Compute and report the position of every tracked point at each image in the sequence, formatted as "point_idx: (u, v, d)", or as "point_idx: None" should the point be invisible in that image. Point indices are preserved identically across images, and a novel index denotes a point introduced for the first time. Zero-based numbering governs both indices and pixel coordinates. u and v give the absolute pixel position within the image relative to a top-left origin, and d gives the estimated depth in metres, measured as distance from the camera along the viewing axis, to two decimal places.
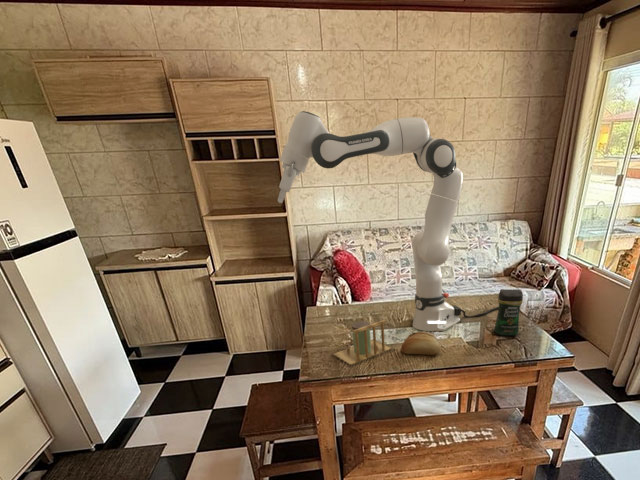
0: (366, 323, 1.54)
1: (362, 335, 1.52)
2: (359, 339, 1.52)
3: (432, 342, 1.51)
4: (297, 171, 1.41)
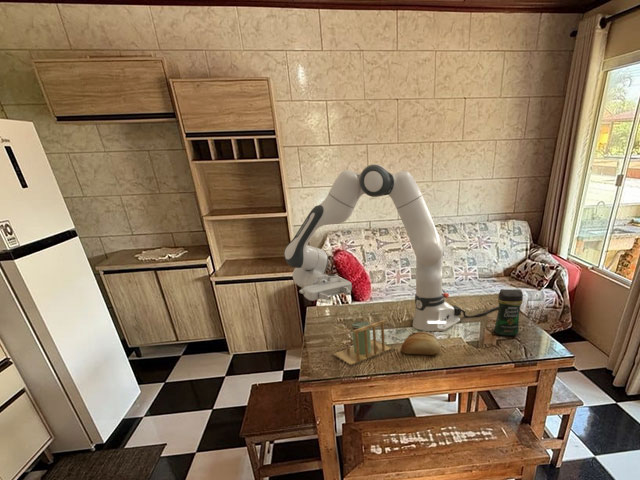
0: (366, 323, 1.54)
1: (362, 335, 1.52)
2: (359, 339, 1.52)
3: (432, 342, 1.51)
4: (317, 282, 1.62)
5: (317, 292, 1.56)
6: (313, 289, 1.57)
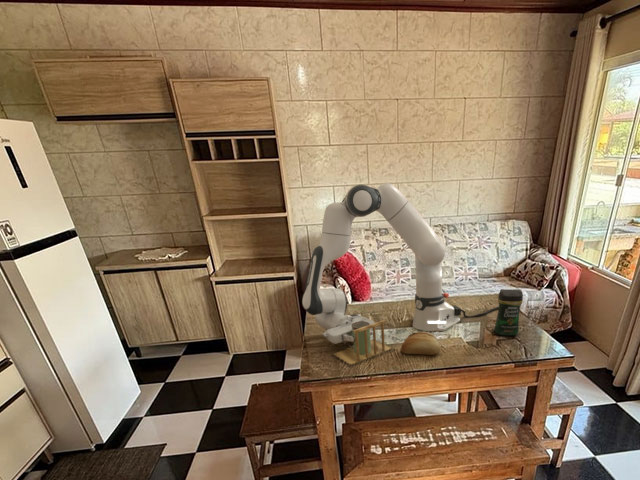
0: (366, 323, 1.54)
1: (362, 335, 1.52)
2: (359, 339, 1.52)
3: (432, 342, 1.51)
4: (340, 324, 1.60)
5: (340, 335, 1.54)
6: (336, 332, 1.55)
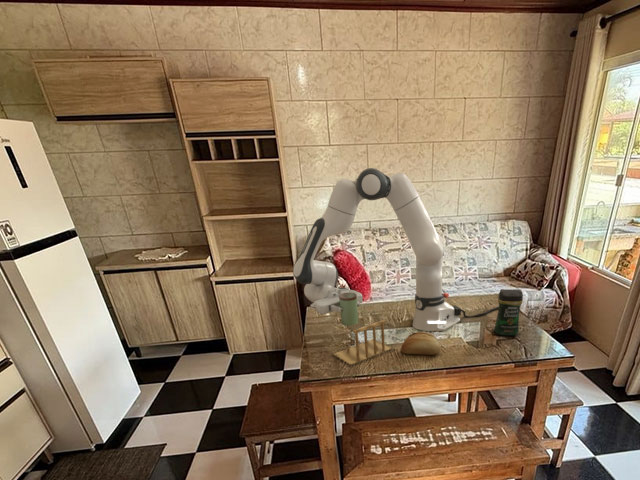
0: (353, 294, 1.55)
1: (349, 305, 1.53)
2: (346, 309, 1.54)
3: (432, 342, 1.51)
4: (328, 296, 1.62)
5: (328, 305, 1.55)
6: (324, 303, 1.56)
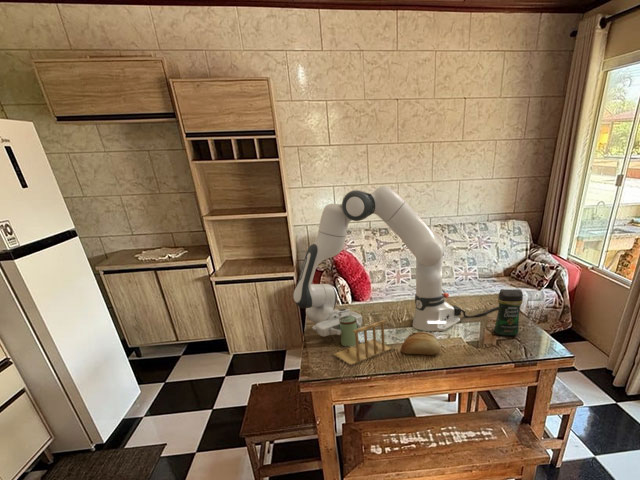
0: (353, 318, 1.62)
1: (349, 329, 1.59)
2: (346, 333, 1.60)
3: (432, 342, 1.51)
4: (329, 318, 1.68)
5: (328, 328, 1.61)
6: (325, 325, 1.62)
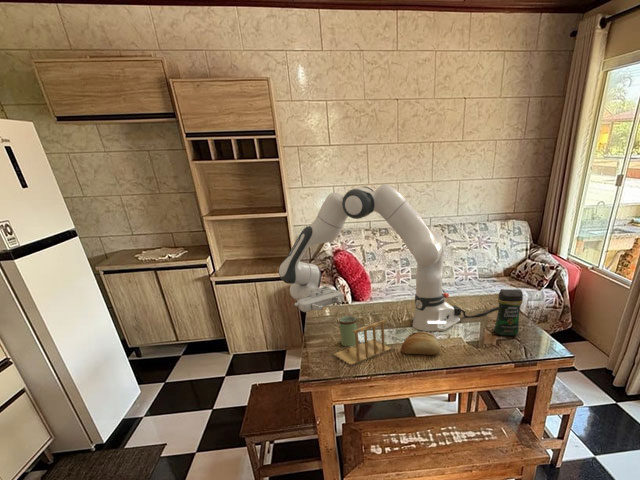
0: (353, 318, 1.62)
1: (349, 329, 1.59)
2: (346, 333, 1.60)
3: (432, 342, 1.51)
4: (311, 295, 1.73)
5: (310, 304, 1.67)
6: (306, 301, 1.68)
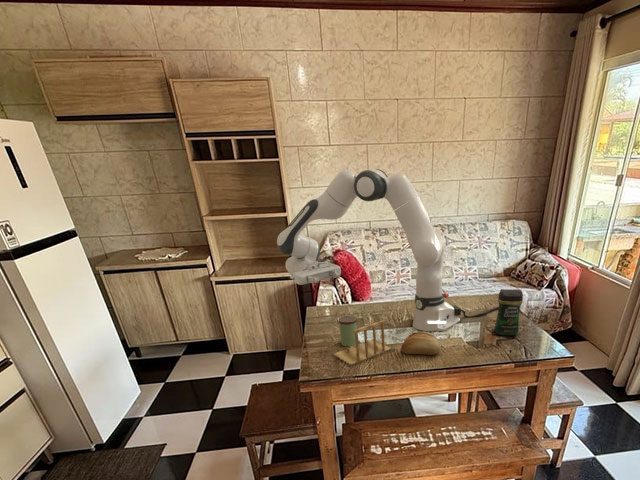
0: (353, 318, 1.62)
1: (349, 329, 1.59)
2: (346, 333, 1.60)
3: (432, 342, 1.51)
4: (307, 268, 1.68)
5: (306, 276, 1.61)
6: (302, 274, 1.62)
